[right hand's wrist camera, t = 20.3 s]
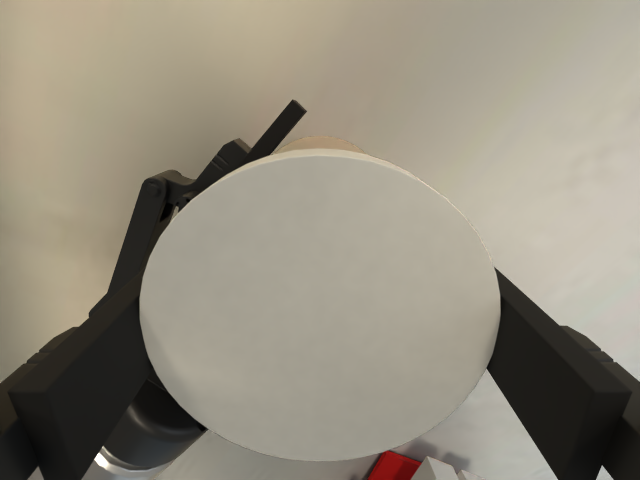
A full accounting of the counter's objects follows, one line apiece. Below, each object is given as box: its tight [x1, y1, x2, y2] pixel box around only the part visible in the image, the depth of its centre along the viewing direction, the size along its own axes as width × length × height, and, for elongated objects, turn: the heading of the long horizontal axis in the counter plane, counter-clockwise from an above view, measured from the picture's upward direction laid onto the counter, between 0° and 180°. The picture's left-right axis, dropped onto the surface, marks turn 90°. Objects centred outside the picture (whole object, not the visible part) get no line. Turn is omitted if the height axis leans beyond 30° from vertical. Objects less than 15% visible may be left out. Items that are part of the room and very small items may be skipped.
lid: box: [140, 148, 501, 462], centre depth 11 cm, size 11×11×2 cm
